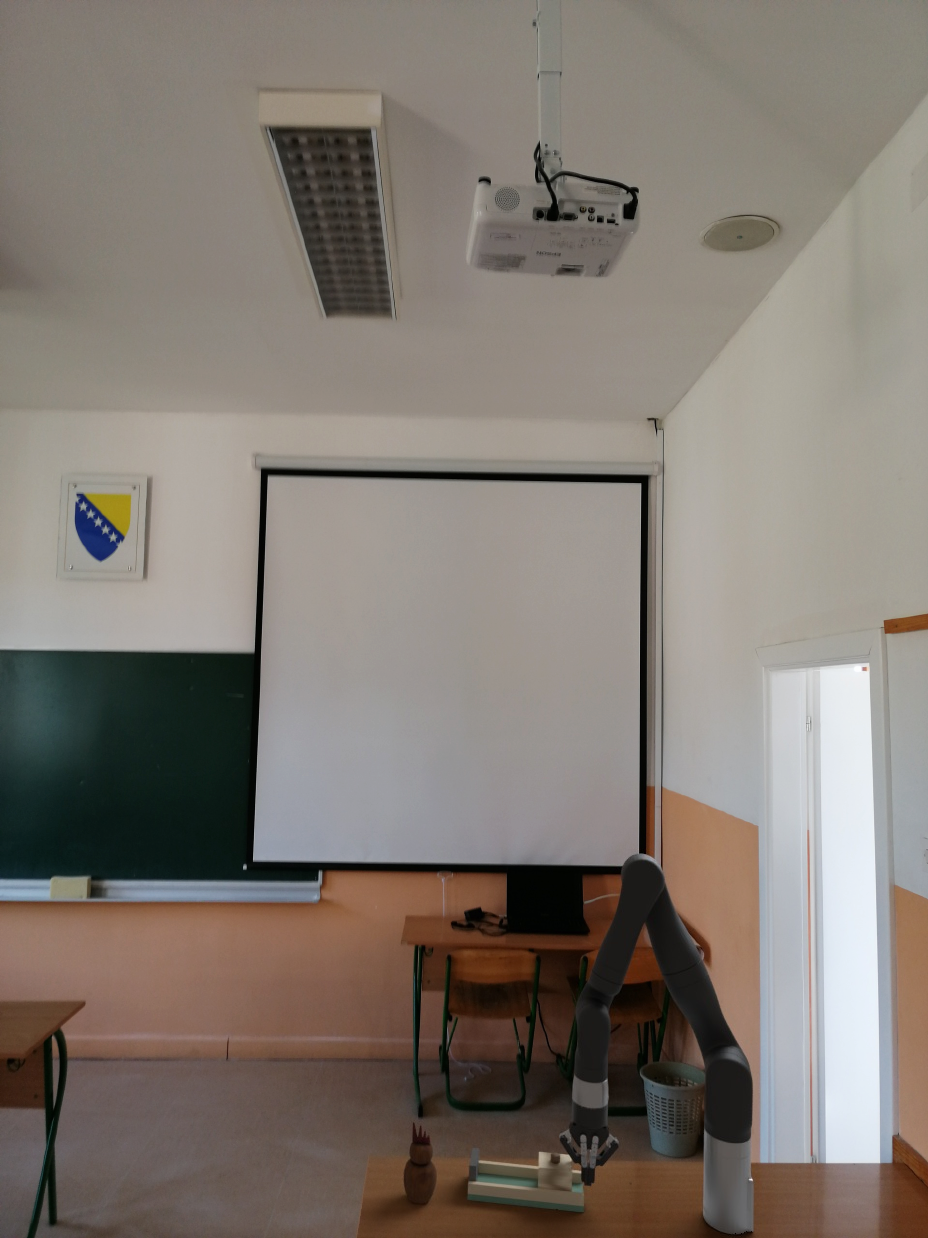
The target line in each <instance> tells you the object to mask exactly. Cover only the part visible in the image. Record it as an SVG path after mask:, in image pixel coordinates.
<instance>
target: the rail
mask: <svg viewBox="0 0 928 1238" xmlns="http://www.w3.org/2000/svg"><path fill="white" fill-rule="evenodd" d="M538 1169H539V1165H537V1166H536V1165H529V1164H517V1163H510V1162H509V1163H508V1162H499V1161H489V1160H481V1159H480V1148H478V1147H476V1148H475V1147H472V1148H471V1155H470V1161H469V1165H468V1182H467V1201H475V1202H482V1203H484V1202H486V1203H494V1204H504V1205H511V1206H521V1207H530V1208H537V1209H539V1208H541V1209H548V1210H556V1209H558V1210H557V1211H567V1212H577V1213H585V1192H584V1188H583V1187H584V1185H583V1183H584V1182H582V1181H581V1170H576V1169H572V1192H569V1191H560V1190H551V1189H541V1188H538Z"/></svg>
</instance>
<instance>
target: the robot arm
mask: <svg viewBox="0 0 928 1238" xmlns="http://www.w3.org/2000/svg"><path fill="white" fill-rule="evenodd" d="M620 871H621V872H620V879H621V881H620V882H621V888H620V893H619V898H618V903H617V907H616V909H615V913H614V916H613V918H612V921H611V923H610V926H609V928H608V929H607V932H606V934H605V936H604V938H603V939H602V942H601V945H600V946H599V950H598V951H597V954H596V957H595V960H594V962H593V966H592V968H591V971H590V975H589V978H588V980H587V982H586V983H585V985H584V987H583V989H582V990H581V993H580V994H579V997H578V999H577V1002H576V1006H575V1013H574V1014H575V1019H576V1020H575V1021H576V1025H577V1030H576V1031H577V1043H576V1044H577V1047H576V1050H575V1053H574V1073H573V1074H574V1075H573V1081H572V1093H571V1097H572V1100H571V1121H570V1123H569V1125H568V1128H567V1129H566V1130H565V1131H560V1132H559V1143H560V1144H561V1145H562V1147H563V1148H564V1150H565V1151H566V1153H567V1155H569V1156H570V1157H571V1159H572V1163H574V1164H578V1165H580V1166H581V1169H580V1171H581V1181H582V1182H583V1183H584V1185H583V1187H584V1186H585V1187H588V1186H589V1187H592V1184H594V1183H595V1181H596V1175H595V1174H596V1168H597V1167H598V1166H600V1167H603V1166H604V1165H605V1164H606V1163H607V1162H608V1161H609V1160H610V1158H611V1157H612V1156H613V1154H615V1152H616V1151H617V1150H618V1149H619V1147H620V1145H619V1139H618V1137H617V1136H613V1135H612V1134H611V1132H610V1129H609V1126H608V1114H609V1113H608V1112H609V1111H608V1110H609V1098H610V1096H609V1081H608V1074H609V1072H608V1069H609V1067H608V1066H609V1059H608V1058H609V1057H608V1053H609V1049H610V1041H611V1030H612V1029H611V1024H612V1023H611V1017H610V1014H609V1012H610V1011H609V1010H610V1007H611V1004H612V1002H613V1000H614V998H615V996H616V995H618V994H619V993H620V991H621V990H622V987H623V985H624V982H625V979H626V977H627V974H628V970H629V967H630V965H631V961H632V959H633V955H634V953H635V949H636V946H637V943H638V940H639V937H640V935H641V933H642V929H643V927H644V925H645V927H646V931H647V933H648V934H647V935H648V937H649V941H650V945H651V947H652V951H653V954H654V958H655V960H656V963H657V966H658V968H659V969H658V970H659V972H660V973H661V976H662V978H663V980H664V984H665V985H666V987H667V990H668V992H669V994H670V996H671V997H672V1000H673V1001H674V1003H675V1004H676V1006H677V1007H678V1009H679V1010H680V1011H681V1013H682V1014H683V1016H684V1017H685V1019H686V1020H687V1022H688V1024H689V1025H690V1027H691V1029H692V1031H693V1033H694V1036H695V1038H696V1039H695V1040H696V1042H697V1045H698V1048H699V1050H700V1054H701V1057H702V1060H703V1065H704V1066H703V1067H704V1075H705V1077H704V1078H705V1079H704V1081H705V1082H704V1083H705V1084H704V1116H703V1117H704V1119H703V1121H704V1122H703V1125H704V1127H703V1129H704V1130H703V1133H704V1134H703V1195H702V1196H703V1201H702V1209H703V1210H702V1212H703V1213H702V1215H703V1218H704V1219H703V1220H704V1221H705V1222H706V1223H707V1224H708V1225H709V1226H710V1227H711V1228H713V1229H715V1230H717V1231H719V1232H721V1233H725V1234H727V1235H729V1234H730V1235H741V1233H742V1234H745V1233H747V1232H751V1231H752V1232H754V1180H753V1178H752V1174H751V1172H752V1171H751V1170H752V1166H751V1164H752V1160H751V1159H752V1125H753V1109H754V1108H753V1107H754V1106H753V1103H754V1100H753V1099H754V1098H753V1097H754V1089H753V1088H754V1084H753V1083H754V1082H753V1074H752V1071H751V1066H750V1064H749V1059H748V1058H747V1056H746V1054H745V1052H744V1050H743V1049H742V1048H741V1046H740V1044H739V1043H738V1041H737V1039H736V1037H735V1035H734V1033H733V1032H732V1030H731V1028H730V1026H729V1025H728V1022H727V1020H726V1018H725V1015H724V1013H723V1011H722V1008H721V1005H720V1002H719V998H718V995H717V993H716V990H715V987H714V985H713V982H712V980H711V977H710V974H709V971H708V969H707V968H706V965H705V963H704V960H703V959H702V956H701V954H700V951H699V950H698V948H697V946H696V944H695V942H694V940H693V939H692V936H691V935H690V933H689V931H688V929H687V928H686V926H685V924H684V923H683V920H682V919H681V918H680V916H679V914H678V912H677V911H676V909H675V905H674V903H673V900H672V898H671V895H670V893H669V890H668V889H669V888H668V886H667V883H666V879H665V877H666V876H665V872H664V870H663V868H662V866H661V864H660V863H659V861H658V860H656V859H655V858H654V857H653V856H650V855H648V854H644V853H635V854H632V855H630V856H629V857H628V858H627V859H626V860H625V861H624V862H623V864H622V867H621V870H620ZM572 1139H573V1140H574V1142H575V1144H576V1145H577V1146H578V1148H580V1153H579V1152H578V1150H577V1149H576V1148H575V1146H574V1144H573V1143H572ZM605 1142H606V1145H605V1146H604V1147H603V1149H602V1150H601V1151H600V1152H599V1153H598V1150H600V1149H601V1148H602V1146H603V1145H604V1144H605ZM587 1150H589V1155H588V1151H587ZM746 1231H747V1232H746ZM744 1232H745V1233H744ZM735 1233H736V1234H735Z"/></svg>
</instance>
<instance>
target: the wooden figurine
mask: <svg viewBox="0 0 928 1238" xmlns="http://www.w3.org/2000/svg"><path fill="white" fill-rule="evenodd" d="M422 1130H423V1127H422V1125H421V1124H420V1125H419V1129H418V1132H417V1128H416V1124H415V1122H414V1121H413V1122H412V1135H411V1136H412V1137H411V1138H412V1141H411V1143H410V1146H409V1159H408V1160H407V1161H406V1163H405V1166H404V1170H403V1187H404V1191H405V1194H406V1196H407V1199H408V1200H409V1201H410V1202H412V1203H414V1204H418V1205H422V1204H427V1203H428V1202H429V1201H430V1200H431V1199H432V1196H433V1195H434V1192H435V1189H436V1186H437V1179H438V1175H437V1172H438V1171H437V1168H436V1166H435V1164H434V1162H433V1161H432V1158H433V1156H434V1155H433V1154H434V1148H433V1146H432V1144H431V1137H430V1134H428V1135H427V1132H426V1130H423V1131H422Z"/></svg>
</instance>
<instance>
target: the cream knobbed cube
mask: <svg viewBox="0 0 928 1238" xmlns="http://www.w3.org/2000/svg"><path fill="white" fill-rule="evenodd" d="M538 1166H539V1169H538V1188H541V1189H551V1190H560V1191H569V1192H572V1170H573V1160H572V1159H571V1157H570V1156H569V1154H563V1153H558V1152H546V1151H545V1152H543V1151H539V1152H538Z"/></svg>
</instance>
